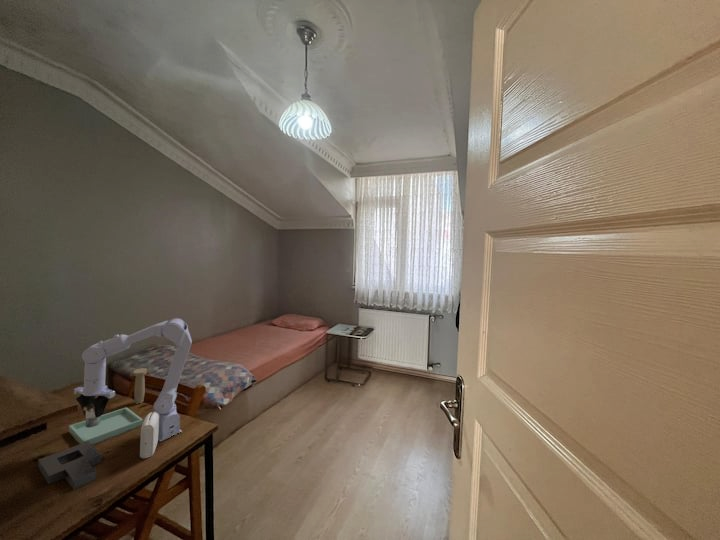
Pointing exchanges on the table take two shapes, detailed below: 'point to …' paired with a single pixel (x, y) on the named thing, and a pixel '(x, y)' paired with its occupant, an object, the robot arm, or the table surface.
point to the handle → (139, 385)
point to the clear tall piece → (91, 416)
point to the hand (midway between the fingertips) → (93, 415)
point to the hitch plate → (71, 465)
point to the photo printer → (149, 435)
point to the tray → (106, 426)
